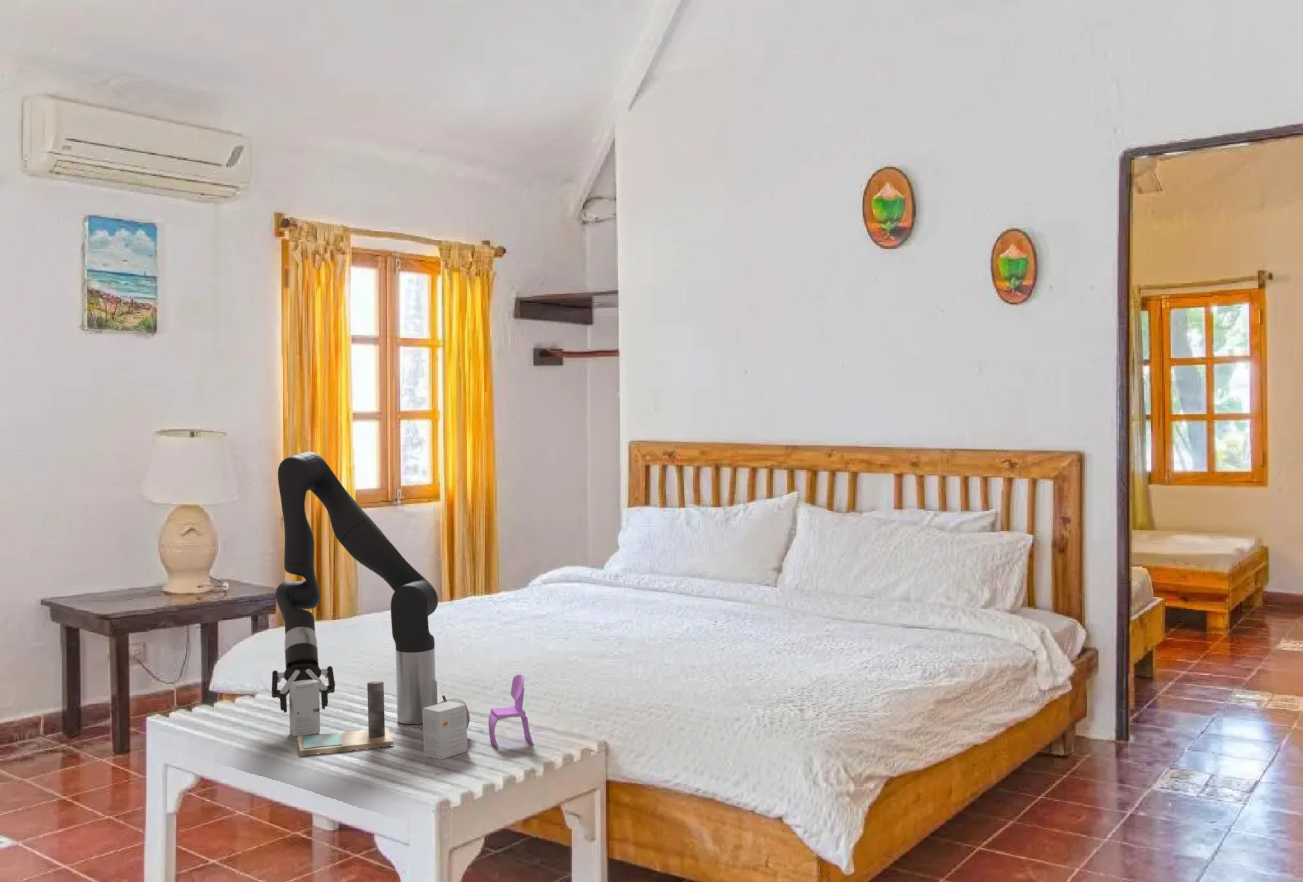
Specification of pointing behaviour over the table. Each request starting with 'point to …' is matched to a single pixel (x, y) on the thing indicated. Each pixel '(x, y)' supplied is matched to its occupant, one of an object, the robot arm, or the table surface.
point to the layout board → (354, 739)
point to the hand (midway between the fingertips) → (304, 709)
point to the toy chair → (511, 710)
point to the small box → (444, 730)
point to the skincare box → (304, 707)
